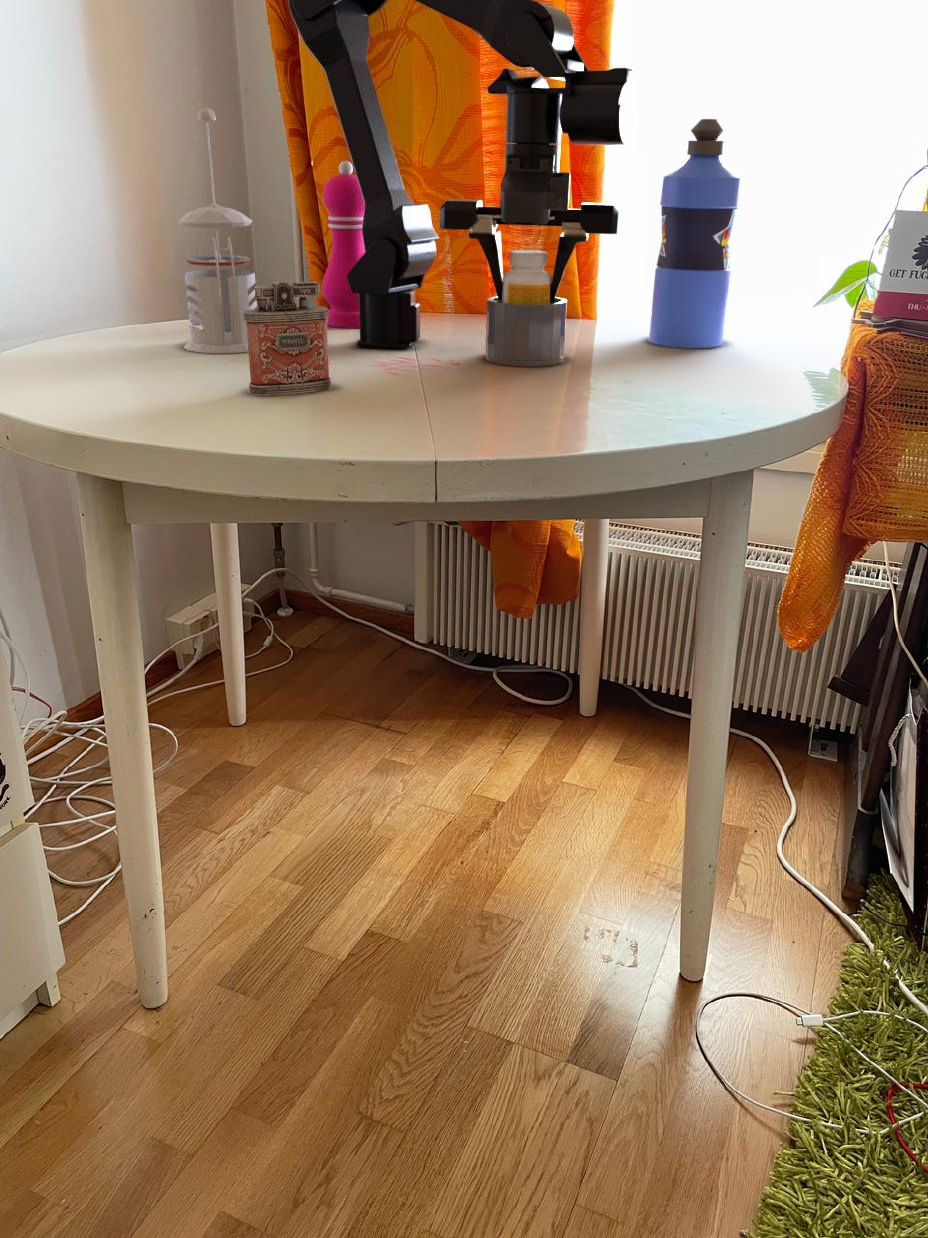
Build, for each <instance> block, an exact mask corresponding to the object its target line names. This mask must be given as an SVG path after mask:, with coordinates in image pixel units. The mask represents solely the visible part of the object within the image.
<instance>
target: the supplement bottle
mask: <svg viewBox="0 0 928 1238" xmlns="http://www.w3.org/2000/svg"><path fill="white" fill-rule="evenodd" d="M547 264H548V252H547V251H543V250H530V249H528V250H526V249H521V250H511V251H510V252H509V265H510V266H511V269H510V270H507V272H505V273H504V274H503V287H502V302H504V303H514V304H550V292H551V284H552V276H551V275H550V273H548V272H547V271H545V269H544V267H546V266H547Z"/></svg>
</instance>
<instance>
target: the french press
mask: <svg viewBox="0 0 928 1238" xmlns="http://www.w3.org/2000/svg"><path fill="white" fill-rule="evenodd" d="M197 120H198V121H205V126H206V137H207V147H208V159H209V160H208V161H209V170H210V171H209V172H210V181H211V194H212V203H211V204H209V205H208V206H204V207H199V208H196V209H194V210H191V211H189V212H186V214H185V215H183V216H182V217H181V218H180V219H179V220H178V221H177V222H178V225H179V227H184V228H185V227H186V228H200V229H202V228H204V229H209V228H211V229H212V228H213V229H215V237H214V236H212V237H211V246H212V248H213V250H214V255H210V254H208V255H198V256H197V255H195V256H189V257H188V258H187V259H186V262H187V264H189V265H192V266H195V267H212V268H213V267H216V269H201V270H191V271H187V272H185V273H184V279H185V287H186V288H187V290H186V298H187V300H188V302H187V308H188V311H189V312H190V313H189V314H188V319H189V322H190V325H189V330H190V339H188V341H187V342H186V343H185V345H184V346H183V348H184V349H185V350H187V351H191V352H195V353H203V354H205V353H206V354H239V353H249V352H248V339H247V326H246V321H245V320H244V312H243V311H245V310H253V309H258V304H257V299H256V298H255V288H254V289H253V290H252V291H251V292H250V293H249V290H251V289H252V288H253V287H255V286H256V284H257V283H256V274H255V273H256V272H254V271H252V270H245V269H244V270H243V269H235V267H238V266H245V265H248V264H250V262H251V260H252V259H251V257H250V256H249V257H248V256H246V255H234V254H233V246H232V241H231V237H230V236H227V237H226V241H227V245H226V247H224V248H221V247H220V242H219V241H220V240H219V230H218V229H225V228H226V229H227V228H229V229H230V228H238V227H239V228H241V227H248V226H250V225H251V224H252V222H253V220H252V219H250V218H249V217H248V216H246V215H245V214H244V213H243V212H240V211H238V210H236V209H234V208H230V207H225V206H220V205H219V204H218V203H216V193H215V183H214V181H215V180H214V172H213V159H212V148H211V147H212V146H211V136H210V125H209V121H216V120H217V118H216V113H215V112H214V110H213V109H211V108H208V107H205V108H200V110H198V111H197ZM215 238H216V239H215ZM227 250H229V252H230V256H229V255H226V254H224V255H225V256H224V255H221V252H227ZM221 267H231V269H220V268H221ZM198 291H199V295H198V294H197V293H196V292H198ZM254 299H255V300H254ZM253 300H254V302H253V303H252V304H250V302H251V301H253ZM197 304H200V306H198V305H197ZM197 315H201V317H199V316H197ZM197 326H201V327H202V329H201V328H199V327H197Z"/></svg>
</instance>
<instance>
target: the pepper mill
mask: <svg viewBox="0 0 928 1238" xmlns="http://www.w3.org/2000/svg"><path fill="white" fill-rule="evenodd" d="M353 171H354V166H353V163H352V162H350V161H348V160H343V161H341V162H340V163H339V165H338V172H339V173H340V174H338V175H334V176H333V177H331V178H329V179H328V180H327V182H326V183H325V185H324V186H323V187H324V188H323V192H322V193H323V194H322V200H323V201H322V202H323V204H324V205H325V207H326V209H327V210H328V211H329V213H330V215H329V216H327V220H328V224H327V227H328V228H330V229H331V235H332V247H331V248H332V249H331V255H330V259H329V263H328V265H327V268H326V270H325V273H324V276H323V280H322V291H321V292H322V293H321V294H322V296H323V298H324V300H325V301H326V303H328V305H329V306H330V309H328V317H327V326H330V327H332V328H339V329H341V328H342V329H360V321H359V293H352V292H351V289H350V285H349V282H348V279H347V273H348V272H349V271H350V270H351V269H352V267H353V266H354V265H355V264H356V263H357V262H358V260H359V259H360V258H361V257H362V256H363V254H364V253H365V249H364V243H363V237H362V224H363V216H364V208H365V204H364V199H363V196H362V192H361V189H360V186H359V183H358V179H357V176H356V175H354V174H352V173H353Z"/></svg>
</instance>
